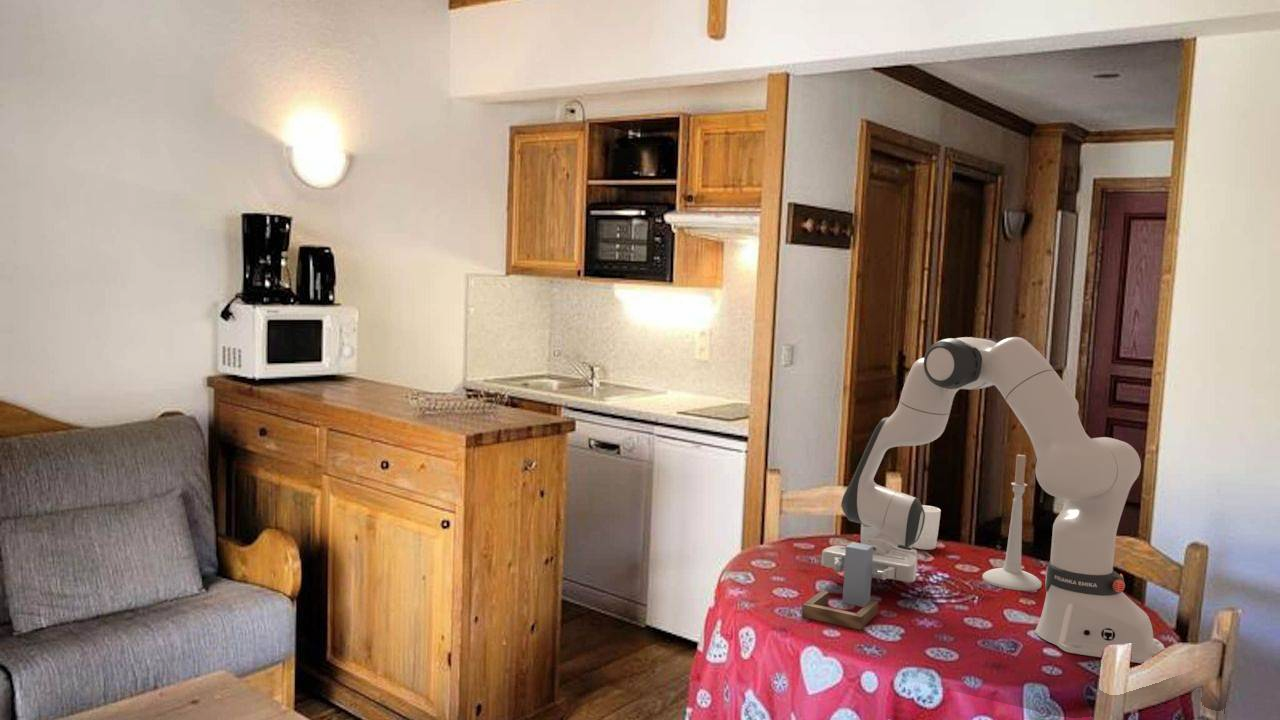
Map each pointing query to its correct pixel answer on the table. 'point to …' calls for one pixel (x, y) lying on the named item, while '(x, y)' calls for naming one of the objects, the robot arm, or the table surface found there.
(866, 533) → the syrup box
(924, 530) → the white cup
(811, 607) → the wooden u-shaped frame
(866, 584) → the grey block
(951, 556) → the table surface
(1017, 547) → the candlestick
